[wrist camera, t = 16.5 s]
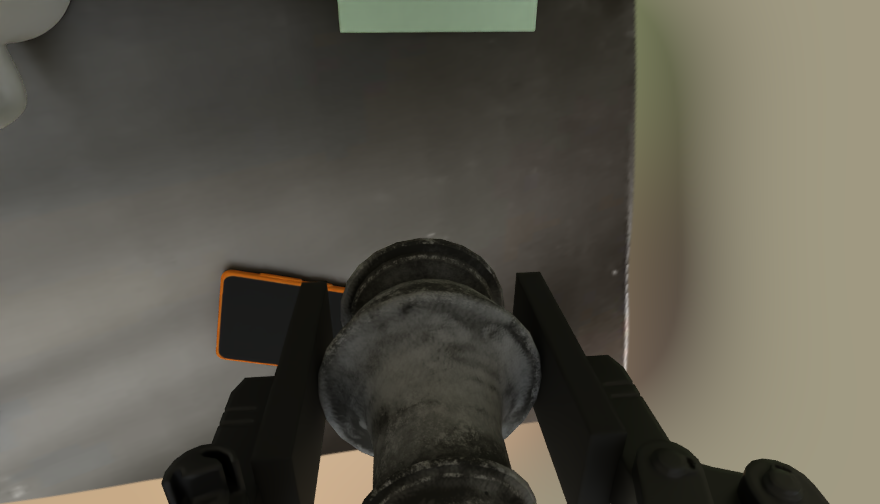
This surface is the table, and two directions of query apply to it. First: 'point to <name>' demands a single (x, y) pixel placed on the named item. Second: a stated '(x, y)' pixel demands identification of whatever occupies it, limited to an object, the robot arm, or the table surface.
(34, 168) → the table surface
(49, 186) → the table surface
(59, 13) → the mug
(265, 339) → the smartphone
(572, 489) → the robot arm
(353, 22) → the green button housing
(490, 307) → the salt shaker
